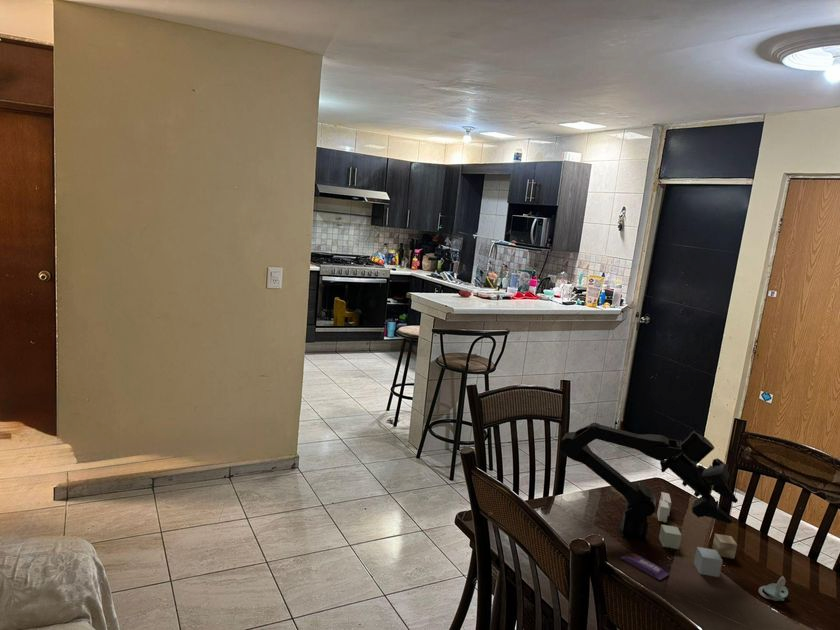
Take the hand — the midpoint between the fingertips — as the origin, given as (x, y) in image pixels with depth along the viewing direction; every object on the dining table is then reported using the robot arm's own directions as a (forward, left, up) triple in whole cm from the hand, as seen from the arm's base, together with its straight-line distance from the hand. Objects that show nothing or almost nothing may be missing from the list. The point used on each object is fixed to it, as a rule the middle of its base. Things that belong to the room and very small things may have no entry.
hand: (734, 512), depth 160 cm
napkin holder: (-12, +23, -15) cm, 30 cm away
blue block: (-7, -7, -15) cm, 18 cm away
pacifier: (+7, -14, -15) cm, 22 cm away
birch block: (+1, +4, -15) cm, 15 cm away
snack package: (-24, -11, -15) cm, 31 cm away
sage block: (-14, +4, -15) cm, 21 cm away
